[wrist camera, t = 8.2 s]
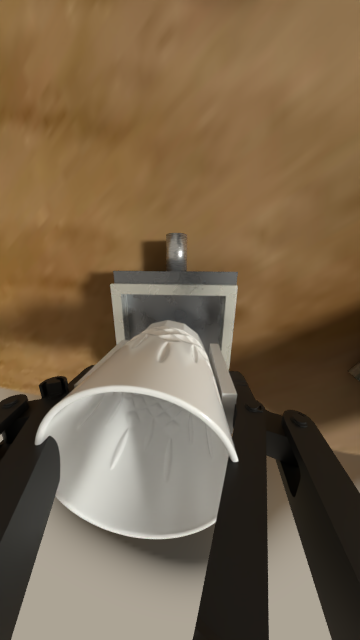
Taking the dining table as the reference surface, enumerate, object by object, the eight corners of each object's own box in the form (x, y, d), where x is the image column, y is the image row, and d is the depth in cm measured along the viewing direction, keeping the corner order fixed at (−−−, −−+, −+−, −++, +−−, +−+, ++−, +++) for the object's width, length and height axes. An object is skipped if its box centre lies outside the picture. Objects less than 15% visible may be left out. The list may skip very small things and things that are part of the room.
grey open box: (130, 240, 22) (101, 225, 15) (228, 240, 21) (247, 223, 14) (139, 365, 28) (120, 397, 20) (218, 369, 27) (227, 404, 19)
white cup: (143, 393, 17) (81, 543, 8) (118, 323, 15) (-6, 406, 6) (218, 381, 16) (254, 536, 7) (201, 304, 14) (218, 367, 5)
